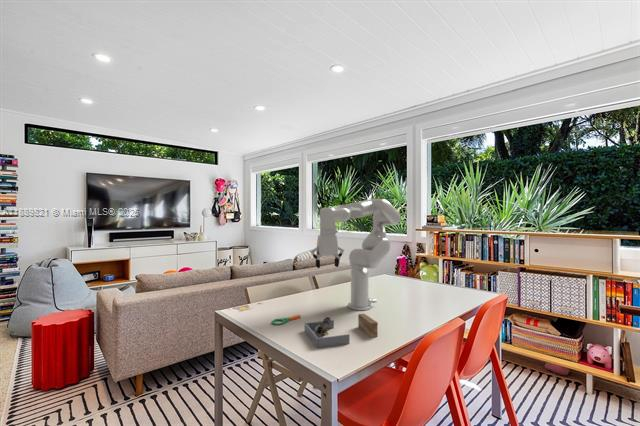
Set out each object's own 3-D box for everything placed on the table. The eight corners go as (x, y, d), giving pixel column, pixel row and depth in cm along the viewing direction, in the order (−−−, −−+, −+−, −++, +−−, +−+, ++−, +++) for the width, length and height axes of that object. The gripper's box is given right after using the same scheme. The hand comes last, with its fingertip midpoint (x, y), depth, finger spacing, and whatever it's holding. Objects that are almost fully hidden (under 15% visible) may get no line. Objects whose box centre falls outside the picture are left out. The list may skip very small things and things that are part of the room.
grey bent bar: (333, 327, 139) (333, 319, 139) (349, 343, 122) (349, 334, 122) (304, 331, 134) (304, 323, 134) (317, 348, 118) (317, 338, 118)
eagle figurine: (336, 335, 127) (334, 323, 136) (326, 321, 126) (325, 310, 135) (320, 344, 128) (319, 332, 137) (310, 331, 127) (310, 319, 135)
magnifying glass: (275, 327, 140) (275, 323, 140) (268, 323, 144) (268, 319, 144) (303, 320, 149) (303, 316, 149) (296, 316, 154) (296, 313, 154)
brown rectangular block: (364, 326, 140) (364, 313, 140) (377, 336, 129) (377, 322, 129) (358, 327, 139) (358, 314, 139) (371, 337, 128) (371, 323, 128)
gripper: (340, 231, 160) (340, 264, 160) (308, 232, 154) (308, 266, 154) (346, 232, 153) (346, 267, 153) (313, 233, 147) (313, 269, 147)
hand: (327, 267), depth 154 cm, fingers open, 9 cm apart
